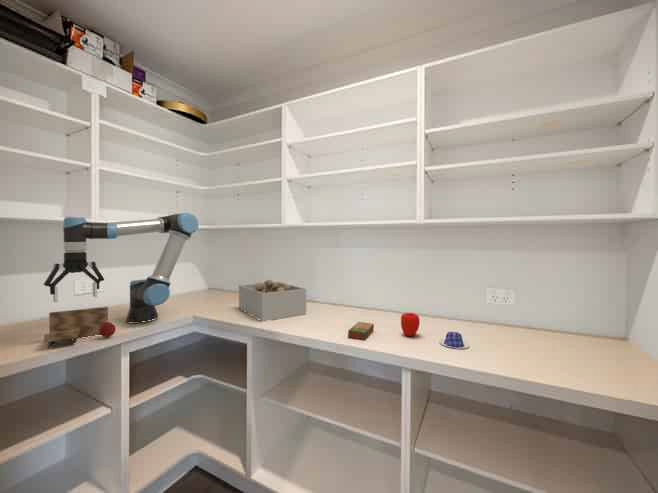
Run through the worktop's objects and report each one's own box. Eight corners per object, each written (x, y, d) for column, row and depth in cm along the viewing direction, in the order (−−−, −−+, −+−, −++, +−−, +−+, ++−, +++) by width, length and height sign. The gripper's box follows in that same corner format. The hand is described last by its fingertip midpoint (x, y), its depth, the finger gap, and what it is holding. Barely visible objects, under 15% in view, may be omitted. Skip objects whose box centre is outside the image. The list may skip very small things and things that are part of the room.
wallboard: (107, 333, 136) (107, 306, 136) (107, 334, 134) (107, 307, 134) (50, 341, 124) (50, 312, 124) (49, 343, 123) (49, 313, 122)
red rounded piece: (416, 339, 130) (417, 316, 130) (398, 336, 135) (398, 313, 135) (421, 334, 138) (421, 312, 138) (403, 331, 142) (403, 310, 142)
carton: (373, 331, 143) (374, 323, 143) (364, 341, 129) (365, 332, 129) (358, 329, 147) (358, 321, 147) (347, 338, 132) (347, 329, 132)
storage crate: (278, 303, 206) (278, 281, 206) (306, 314, 175) (306, 288, 175) (238, 309, 188) (239, 285, 188) (262, 322, 158) (262, 293, 158)
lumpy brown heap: (296, 319, 163) (296, 284, 163) (251, 318, 165) (252, 283, 165) (306, 305, 201) (306, 276, 201) (269, 304, 203) (270, 276, 202)
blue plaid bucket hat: (461, 340, 131) (461, 329, 131) (474, 350, 119) (474, 338, 119) (435, 340, 131) (435, 329, 131) (445, 350, 119) (445, 337, 119)
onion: (117, 335, 134) (117, 318, 133) (112, 339, 128) (112, 321, 128) (102, 336, 131) (102, 319, 131) (97, 340, 126) (97, 323, 126)
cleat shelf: (79, 338, 129) (79, 324, 129) (77, 345, 120) (77, 330, 120) (49, 343, 123) (49, 328, 123) (44, 350, 114) (44, 334, 114)
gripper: (105, 250, 139) (106, 293, 139) (33, 252, 118) (34, 303, 118) (112, 251, 135) (112, 295, 135) (38, 253, 114) (39, 305, 114)
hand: (76, 299), depth 127 cm, fingers open, 13 cm apart
